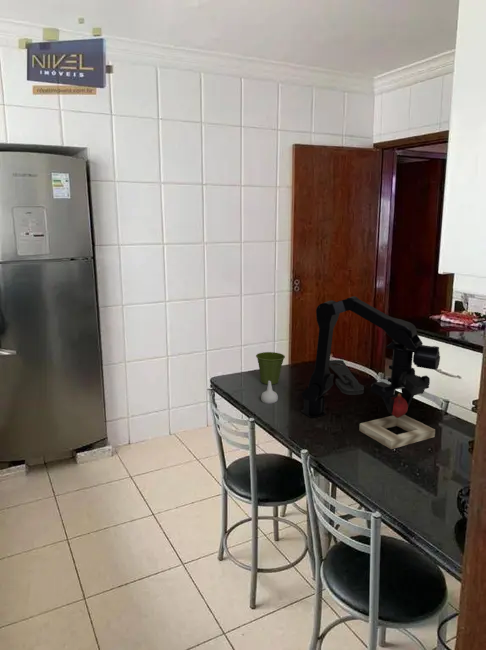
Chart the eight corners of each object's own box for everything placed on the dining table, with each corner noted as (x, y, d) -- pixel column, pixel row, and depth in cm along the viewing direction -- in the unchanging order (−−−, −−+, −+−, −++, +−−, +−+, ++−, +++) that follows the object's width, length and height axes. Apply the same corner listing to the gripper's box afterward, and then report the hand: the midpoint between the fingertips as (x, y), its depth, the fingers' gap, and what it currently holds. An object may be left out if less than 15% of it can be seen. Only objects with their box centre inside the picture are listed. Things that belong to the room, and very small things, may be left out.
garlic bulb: (280, 404, 177) (282, 383, 175) (265, 405, 174) (267, 384, 173) (272, 398, 182) (274, 378, 181) (257, 399, 180) (259, 378, 178)
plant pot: (278, 388, 191) (278, 361, 189) (250, 384, 196) (251, 357, 194) (288, 379, 201) (289, 353, 199) (262, 375, 206) (262, 350, 204)
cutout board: (391, 449, 142) (391, 441, 141) (359, 430, 154) (359, 423, 153) (434, 437, 150) (435, 429, 149) (401, 420, 162) (401, 413, 161)
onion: (406, 422, 147) (408, 398, 145) (386, 419, 149) (388, 395, 147) (407, 415, 152) (409, 391, 150) (388, 412, 154) (390, 389, 152)
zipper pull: (343, 359, 208) (368, 378, 184) (342, 374, 210) (367, 394, 186) (323, 360, 207) (346, 379, 183) (323, 375, 208) (345, 395, 184)
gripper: (398, 375, 135) (394, 427, 139) (445, 367, 144) (439, 415, 147) (371, 365, 145) (367, 413, 149) (416, 357, 153) (412, 403, 157)
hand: (397, 411), depth 150 cm, fingers closed on onion, 6 cm apart
